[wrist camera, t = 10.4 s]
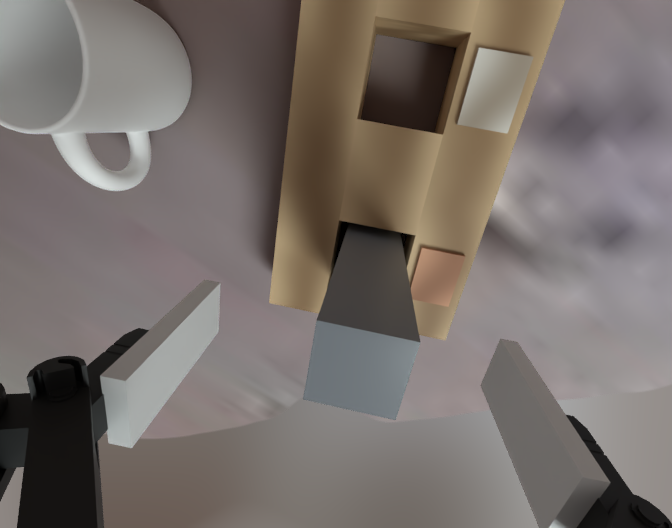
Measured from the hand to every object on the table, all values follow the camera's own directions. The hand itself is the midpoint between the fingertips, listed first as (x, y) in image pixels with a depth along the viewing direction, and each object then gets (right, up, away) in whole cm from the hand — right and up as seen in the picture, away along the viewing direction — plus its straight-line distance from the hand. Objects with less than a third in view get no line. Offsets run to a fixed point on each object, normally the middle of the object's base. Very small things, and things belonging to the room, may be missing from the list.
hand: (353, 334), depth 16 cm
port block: (+3, +10, +10) cm, 15 cm away
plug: (+2, +5, +12) cm, 14 cm away
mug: (-15, +16, +11) cm, 24 cm away
